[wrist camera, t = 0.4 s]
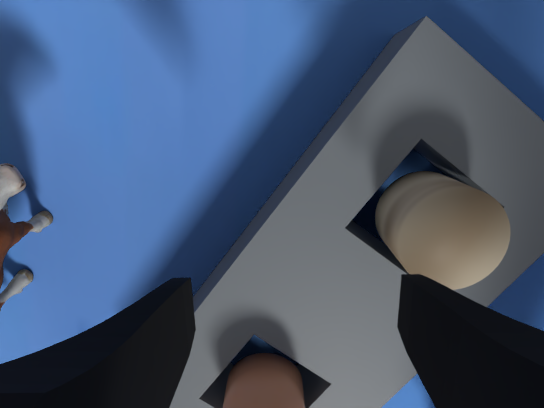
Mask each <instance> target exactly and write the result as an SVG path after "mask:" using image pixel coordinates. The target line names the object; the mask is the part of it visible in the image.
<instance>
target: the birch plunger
mask: <svg viewBox="0 0 544 408" xmlns="http://www.w3.org/2000/svg"><path fill="white" fill-rule="evenodd" d="M375 223H376V228H377V231H378V233H379V235H380V237H381V239H382V240H383V241H384V243H385V244H386V245H387V246H388V248H389V249H390V250H391V252H392V253H393V254H394V255H395V257H396V258H397V259H398V261H399V262H400V263H401V264H402V266H403V267H404V268H405V270H406V271H407V272H408V273H409V274H421V275H424V276H426V277H428V278H430V279H432V280H434V281H436V282H438V283H440V284H442V285H444V286H446V287H448V288H450V289H452V290H456V289H461V288H465V287H468V286H471V285H473V284H475V283H477V282H479V281H481V280H482V279H484V278H485V277H487V276H488V275H489V274H490V273H491V272H492V271H493V270H494V269H495V268H496V267H497V266H498V265H499V263H500V262H501V261H502V259H503V257H504V255H505V254H506V251H507V249H508V245H509V241H510V223H509V219H508V216H507V214H506V212H505V210H504V208H503V207H502V206H501V204H500V203H499V202H498V201H497V200H496V199H495V198H493V197H492V196H490V195H489V194H487V193H485V192H483V191H480V190H478V189H476V188H473V187H471V186H469V185H466V184H464V183H461V182H459V181H457V180H454V179H452V178H450V177H447V176H445V175H443V174H440V173H437V172H432V171H417V172H412V173H409V174H406V175H404V176H402V177H400V178H399V179H397V180H395V181H394V182H393V183H392V184H391V185H390V186H389V187H388V188H387V189H386V190H385V191H384V193H383V194H382V196H381V197H380V199H379V202H378V204H377V208H376V213H375Z"/></svg>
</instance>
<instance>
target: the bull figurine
mask: <svg viewBox="0 0 544 408" xmlns="http://www.w3.org/2000/svg"><path fill="white" fill-rule="evenodd" d="M25 186H26V182H25V180H24V178H23V177H22V175H21V174H20V172H19V171H18V169H17V168H16V167H15V166H13V165H11V164H8V163H4V164H0V288H1V285H2V282H3V260H4V257H5V255H6V254H7V252H8V250H9V249H10V248H11V247H12V246H13V245H14V244H16V243H17V242H18V241H19V240H20V239H21V238H22V237H24V236H25V235H26V234H27V233H28V232H41V230H42V229H43V228H45V227H46V226H48V225H50V224H51V223H52V221H53V217H52V215H51V214H50V213H49V212H47V211H41V212H40V213H38V214H37V215H35V216H33V217H32V218H31V219H30V220H29V221H27V222H24V221H21V222H16V223H12V222H11V221H10V219H9V217H8V206H7V200H8V198H9V197H13V196H14V195H15V194H17V193H19V192H21V191H22V190H23V189H24V188H25ZM32 280H33V274H32V273H31V272H30V271H28V270H26V269H22V270H20V271H19V272H18V273H17V274H16V275H15V276H14V278H13V279H12V280H11V282H10V283H9V284H8V286H7V287H6V289H5V290H4V291H3V292H2V293H0V310H1V307H2V305H3V304H4V303H5V302H6V300H7V299H9V298H10V297H11V296H13V295H15V294H18V293H21V292H22V291H23V289H22V288H24V287H25V286H27V285H28V284H29V283H30V282H32Z"/></svg>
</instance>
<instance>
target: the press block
mask: <svg viewBox="0 0 544 408" xmlns="http://www.w3.org/2000/svg"><path fill="white" fill-rule="evenodd" d="M413 148H414V149H415V150H416V151H417V152H418V153H420V154H421V155H422V156H423V157H425V158H426V159H427V160H428V161H430V162H431V163H432V164H433V165H435V166H436V167H437V168H438V169H439V170H441V171H442V172H443V173H444V174H446V175H447V176H448V177H450V178H452V179H454V180H457V181H459V182H461V183H464V184H466V185H469V186H471V187H473V188H476V189H478V190H480V191H483V192H485V193H487V194H489V195H490V196H492V197H493V198H495V199H496V200H497V201H498V202H499V203H500V204H501V206H502V207H503V208H504V210H505V212H506V214H507V216H508V219H509V223H510V241H509V245H508V249H507V251H506V254H505V255H504V257H503V259H502V261H501V262H500V263H499V265H498V266H497V267H496V268H495V269H494V270H493V271H492V272H491V273H490V274H489V275H488V276H487V277H485V278H484V279H482V280H481V281H479V282H477V283H475V284H473V285H471V286H468V287H465V288H461V289H456V290H454V291H455V292H457V293H459V294H461V295H463V296H465V297H467V298H469V299H471V300H473V301H475V302H477V303H479V304H481V305H483V306H485V307H487V306H488V305H490V304H491V303H492V302H493V301H494V300H495V299H496V298H497V297H498V296H499V295H500V294H501V293H502V292H503V291H504V290H505V289H506V288H507V287H508V286H510V285H511V284H512V283H513V282H514V281H515V280H516V279H517V278H518V277H519V276H520V275H521V274H522V273H523V272H524V271H525V270H526V269H527V268H528V267H529V266H531V265H532V264H533V263H534V262H535V261H536V260H537V259H538V258H539V257H540V256H541V255H542V254H543V253H544V121H543V120H542V119H541V118H540V117H539V116H537V115H536V114H535V113H534V112H533V111H532V110H531V109H530V108H529V107H527V106H526V105H525V104H524V103H523V102H522V101H521V100H520V99H519V98H517V97H516V96H515V95H514V94H513V93H512V92H511V91H510V90H509V89H507V88H506V87H505V86H504V85H503V84H502V83H501V82H500V81H499V80H497V79H496V78H495V77H494V76H493V75H492V74H491V73H490V72H488V71H487V70H486V69H485V68H484V67H483V66H482V65H481V64H480V63H478V62H477V61H476V60H475V59H474V58H473V57H472V56H471V55H470V54H468V53H467V52H466V51H465V50H464V49H463V48H462V47H461V46H460V45H458V44H457V43H456V42H455V41H454V40H453V39H452V38H451V37H450V36H448V35H447V34H446V33H445V32H444V31H443V30H442V29H441V28H439V27H438V26H437V25H436V24H435V23H434V22H433V21H432V20H431V19H429V18H428V17H427V16H425V17H424V18H422V19H420V20H418V21H417V22H415V23H413V24H412V25H410V26H408V27H407V28H405V29H403V30H402V31H400V32H398V33H397V34H395V35H394V36H393V38H392V39H391V40H390V42H389V43H388V44H387V45H386V47H385V48H384V49H383V51H382V52H381V53H380V55H379V56H378V57H377V58H376V60H375V61H374V62H373V64H372V65H371V66H370V68H369V69H368V70H367V71H366V73H365V74H364V75H363V77H362V78H361V79H360V81H359V82H358V83H357V84H356V86H355V87H354V88H353V90H352V91H351V92H350V94H349V95H348V96H347V97H346V99H345V100H344V101H343V103H342V104H341V105H340V107H339V108H338V109H337V110H336V112H335V113H334V114H333V116H332V117H331V118H330V120H329V121H328V122H327V123H326V125H325V126H324V127H323V129H322V130H321V131H320V133H319V134H318V135H317V136H316V138H315V139H314V140H313V142H312V143H311V144H310V146H309V147H308V148H307V149H306V151H305V152H304V153H303V155H302V156H301V157H300V159H299V160H298V161H297V162H296V164H295V165H294V166H293V168H292V169H291V170H290V172H289V173H288V174H287V176H286V177H285V178H284V179H283V181H282V182H281V183H280V185H279V186H278V187H277V189H276V190H275V191H274V192H273V194H272V195H271V196H270V198H269V199H268V200H267V202H266V203H265V204H264V205H263V207H262V208H261V209H260V211H259V212H258V213H257V215H256V216H255V217H254V218H253V220H252V221H251V222H250V224H249V225H248V226H247V228H246V229H245V230H244V231H243V233H242V234H241V235H240V237H239V238H238V239H237V241H236V242H235V243H234V244H233V246H232V247H231V248H230V250H229V251H228V252H227V254H226V255H225V256H224V257H223V259H222V260H221V261H220V263H219V264H218V265H217V267H216V268H215V269H214V270H213V272H212V273H211V274H210V276H209V277H208V278H207V280H206V281H205V282H204V283H203V285H202V286H201V287H200V289H199V290H198V291H197V293H196V294H195V295H194V297H193V306H194V316H195V326H196V331H195V335H194V340H193V344H192V348H191V352H190V356H189V358H188V361H187V364H186V366H185V369H184V372H183V374H182V377H181V379H180V382H179V384H178V387H177V390H176V392H175V395H174V397H173V400H172V402H171V405H170V407H169V408H223V402H224V397H225V391H226V386H227V380H228V376H229V373H230V371H231V369H232V368H233V366H234V365H233V364H232V363H230V362H231V361H232V360H233V358H234V357H235V356H236V355H237V354H238V352H239V351H240V350H241V349H242V348H243V347H244V345H245V344H246V343H247V342H248V341H249V340H250V338H251V337H252V336H253V335H256V336H257V337H259V338H260V339H262V340H264V341H265V342H267V343H268V344H270V345H271V346H273V347H274V348H276V349H278V350H279V351H281V352H282V353H284V354H285V355H287V356H289V357H290V358H292V359H293V360H295V361H296V362H298V363H299V364H298V365H297V368H298V370H299V372H300V374H301V376H302V380H303V391H304V402H305V408H381V407H382V406H383V405H384V404H385V403H387V402H388V401H389V400H390V399H391V398H392V397H393V396H394V395H395V394H396V393H397V392H398V391H399V390H400V389H401V388H402V387H403V386H404V385H405V384H407V383H408V382H409V381H410V380H411V379H412V378H413V377H414V376H415V375H416V374H417V372H416V370H415V368H414V366H413V364H412V362H411V360H410V358H409V356H408V354H407V352H406V350H405V347H404V345H403V342H402V339H401V336H400V333H399V331H398V328H397V323H398V311H399V299H400V287H401V274H409V273H408V272H407V271H406V270H405V268H404V267H403V266H402V264H401V263H400V262H399V261H398V259H397V258H396V257H395V255H394V254H393V253H392V252H391V250H390V249H389V248H388V246H386V245H385V244H384V243H382V242H381V241H380V240H378V239H377V238H376V237H374V236H373V235H371V234H370V233H369V232H367V231H366V230H365V229H363V228H362V227H361V226H359V225H358V224H357V223H355V222H354V221H353V220H352V219H353V218H354V217H355V216H356V214H357V213H358V212H359V211H360V210H361V209H362V207H363V206H364V205H365V204H366V203H367V202H368V200H369V199H370V198H371V197H372V196H373V195H374V193H375V192H376V191H377V190H378V189H379V188H380V186H381V185H382V184H383V183H384V182H385V181H386V179H387V178H388V177H389V176H390V175H391V173H392V172H393V171H394V170H395V169H396V168H397V166H398V165H399V164H400V163H401V162H402V161H403V159H404V158H405V157H406V156H407V155H408V154H409V152H410V151H411V150H412V149H413Z"/></svg>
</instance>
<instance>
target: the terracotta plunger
mask: <svg viewBox="0 0 544 408" xmlns="http://www.w3.org/2000/svg"><path fill="white" fill-rule="evenodd" d="M223 408H305V402H304V391H303V380H302V376H301V374H300V372H299V370H298V368H297V367H296V366H295V365H294V364H293V363H292V362H291V361H289V360H288V359H286V358H284V357H282V356H280V355H276V354H272V353H257V354H252V355H249V356H247V357H245V358H243V359H241V360H240V361H238V362H237V363H236V364H235V365H234V366H233V368H232V369H231V371H230V373H229V376H228V380H227V386H226V391H225V397H224V402H223Z"/></svg>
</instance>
